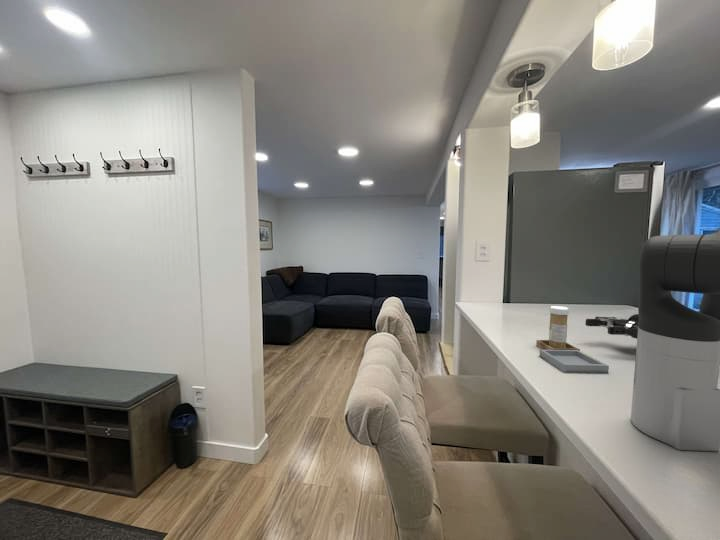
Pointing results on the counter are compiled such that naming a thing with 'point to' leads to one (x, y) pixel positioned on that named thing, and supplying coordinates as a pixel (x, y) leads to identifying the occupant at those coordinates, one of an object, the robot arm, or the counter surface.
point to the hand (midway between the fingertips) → (597, 326)
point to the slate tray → (573, 361)
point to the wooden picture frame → (545, 346)
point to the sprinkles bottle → (558, 326)
